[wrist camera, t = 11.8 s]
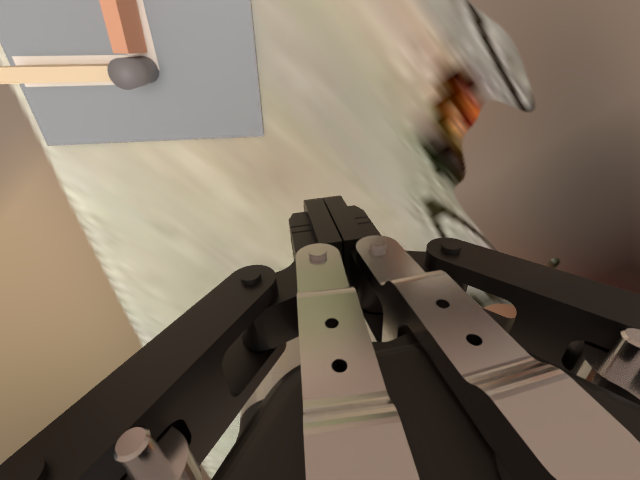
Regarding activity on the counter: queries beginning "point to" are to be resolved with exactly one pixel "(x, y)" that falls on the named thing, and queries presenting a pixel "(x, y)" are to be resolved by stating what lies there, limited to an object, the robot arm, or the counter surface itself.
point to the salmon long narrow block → (123, 26)
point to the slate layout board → (147, 110)
